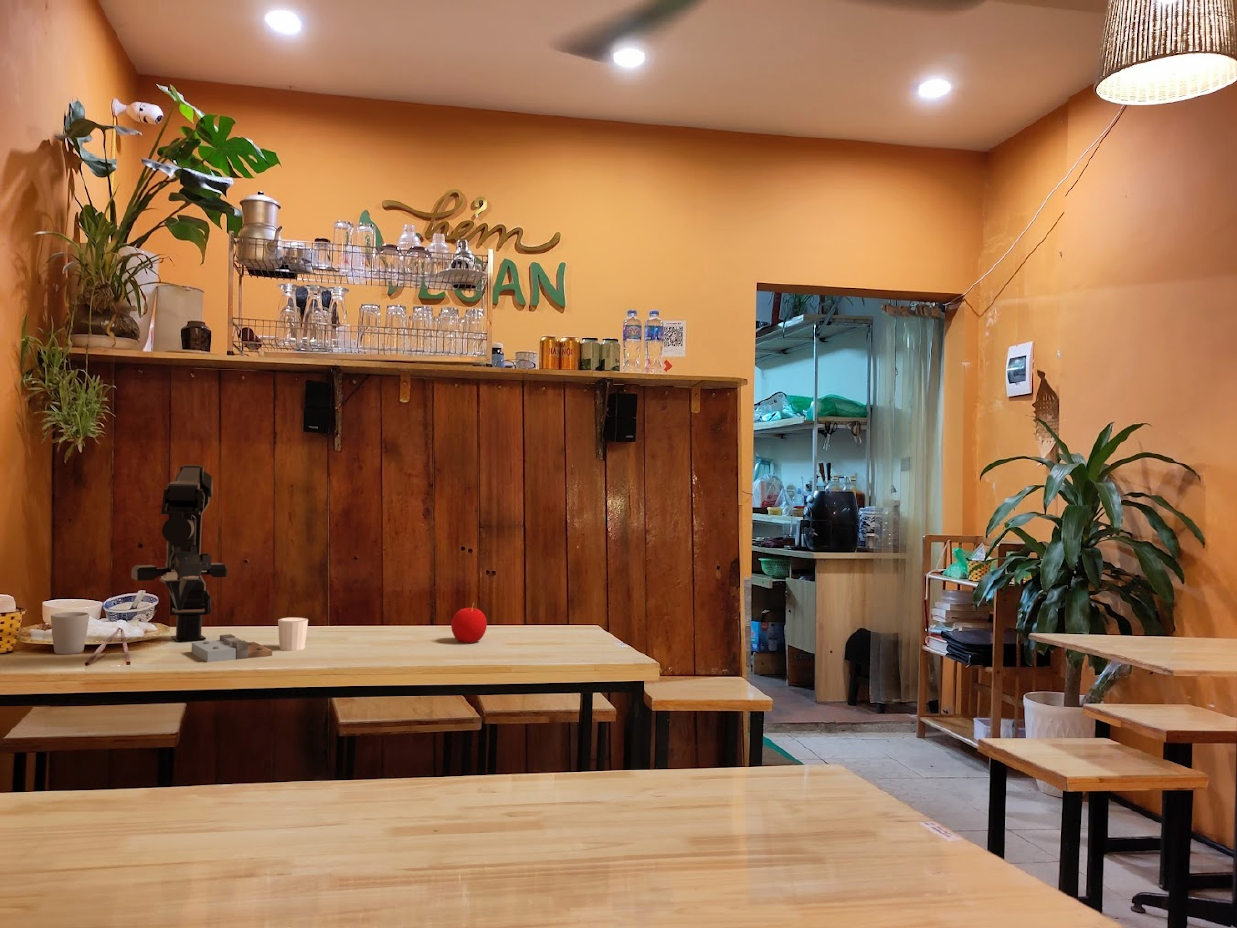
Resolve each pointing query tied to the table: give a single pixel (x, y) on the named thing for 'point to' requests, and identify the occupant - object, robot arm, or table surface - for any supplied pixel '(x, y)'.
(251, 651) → the leaf
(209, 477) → the robot arm
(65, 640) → the cup
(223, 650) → the leaf
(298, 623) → the pale pink tumbler
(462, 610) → the fruit
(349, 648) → the table surface
